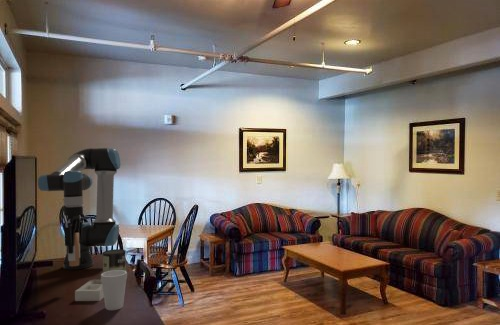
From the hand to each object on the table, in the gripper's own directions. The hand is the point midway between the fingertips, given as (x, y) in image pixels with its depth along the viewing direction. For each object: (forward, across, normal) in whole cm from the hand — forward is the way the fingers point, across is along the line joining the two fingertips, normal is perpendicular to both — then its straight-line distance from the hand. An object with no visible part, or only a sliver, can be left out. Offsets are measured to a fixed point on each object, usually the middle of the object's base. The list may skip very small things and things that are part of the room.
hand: (74, 258), depth 167 cm
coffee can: (+14, -12, +13) cm, 23 cm away
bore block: (+14, +6, +12) cm, 19 cm away
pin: (+3, 0, 0) cm, 3 cm away
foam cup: (+13, +21, +25) cm, 35 cm away
